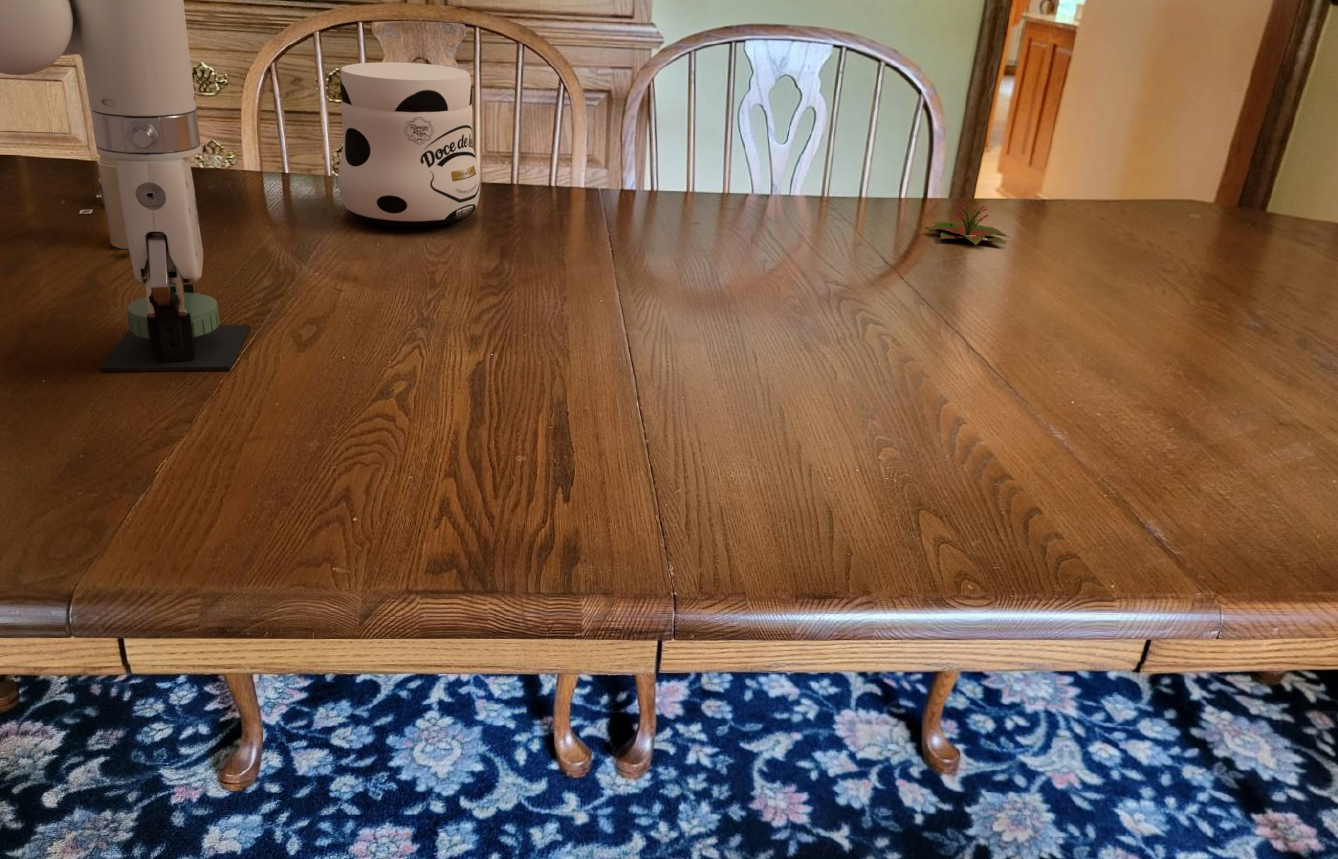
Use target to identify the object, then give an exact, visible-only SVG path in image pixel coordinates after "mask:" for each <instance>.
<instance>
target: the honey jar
mask: <svg viewBox="0 0 1338 859" xmlns="http://www.w3.org/2000/svg"><path fill="white" fill-rule="evenodd" d="M99 157H100V158H99V159H97V161H96V165H97V170H98V171H97V172H98V177H99V178H100V183H101V189H102V195H103V201H104V204H103V206H104V213H105V218H106V224H107V231H108V236H109V243H110V245H111V246H112V247H115V248H118V249H123V250H129V248H128V242H127V237H126V231H125V225H124V219H123V213H122V207H121V200H120V193H119V187H118V180H117V172H116V165H115V159H112V158H107V157H103V156H101V155H100V154H99Z"/></svg>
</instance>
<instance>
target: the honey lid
mask: <svg viewBox="0 0 1338 859" xmlns="http://www.w3.org/2000/svg"><path fill="white" fill-rule="evenodd" d="M175 294H176V293H175ZM184 295H185V305H186V313H190V316H191V324H192V331H193V337H197V336H201V335H204V334H207V333H209V332H212V331H213V330H215V329H216V328H217V327H218V326H219V325H220V324H221V315H220V309H219V305H218V302H217V299H215V298H214V297H212V296H210V295H206V294H202V293H196V292H194V293H184ZM126 309H127V310H126V311H127V313H126V314H127V322H128V330H129V329H130V330H131V332H132V333H133V334H135V335H137V336H140V337H143V338H148V339H150V336H149V329H148V323H147V315H148V307H147V297H146V296H144V297H140V298H137V299H135V300H133V301H132V302H130V303H129V304H128V305H127V308H126Z"/></svg>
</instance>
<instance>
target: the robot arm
mask: <svg viewBox="0 0 1338 859" xmlns="http://www.w3.org/2000/svg"><path fill="white" fill-rule="evenodd" d="M184 1H185V0H0V74H5V75H13V76H24V75H25V76H26V75H31V74H36V73H39V72H42V71H44V70H46V69H47V68H50V67H51V66H52V65H54V64H55V63H56V62H57V61H58V60H59V59H60V58H61V57H62V56H73V55H74V56H75V55H76V56H77V55H78V56H79V57H80V58H81V60H82V68H83V73H84V80H85V88H86V93H87V98H88V105H89V110H90V111H89V112H90V116H91V117H90V118H91V124H92V129H93V135H94V141H95V149H96V153H97V154H98V155H99V156H100V155H101V156H103V157H107V158H112V159H115V165H116V172H117V180H118V187H119V193H120V200H121V207H122V213H123V219H124V225H125V231H126V237H127V242H128V248H129V249H128V252H129V258H130V263H131V267H132V271H133V276H134V279H135V280H136V281H138V282H139V284H143V285H145V286H144V287H145V297H147V307H148V315H147V323H148V329H149V336H150V342H151V349H152V356H153V360H154V361H155V362H157V363H162V362H178V361H192V360H194V359H195V347H194V339H193V331H192V324H191V316H190V313H186V305H185V295H184V293H195V290H194V284H193V283H196V282H198V281H199V280H200V279H201V277H202V276H203V266H204V249H203V242H202V236H201V235H202V234H201V229H200V222H199V220H200V219H199V213H198V206H197V198H196V193H195V184H194V179H193V172H192V167H191V163H190V162H191V161H190V158H191V157H195V156H197V155H199V154H201V153H202V145H201V138H200V137H201V136H200V128H199V120H198V111H197V104H196V97H195V94H196V93H195V89H194V88H195V87H194V78H193V71H192V63H191V52H190V45H189V44H190V43H189V37H188V29H187V21H186V20H187V19H186V11H185V2H184ZM191 280H192V282H193V283H191ZM175 293H176V294H175Z"/></svg>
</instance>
